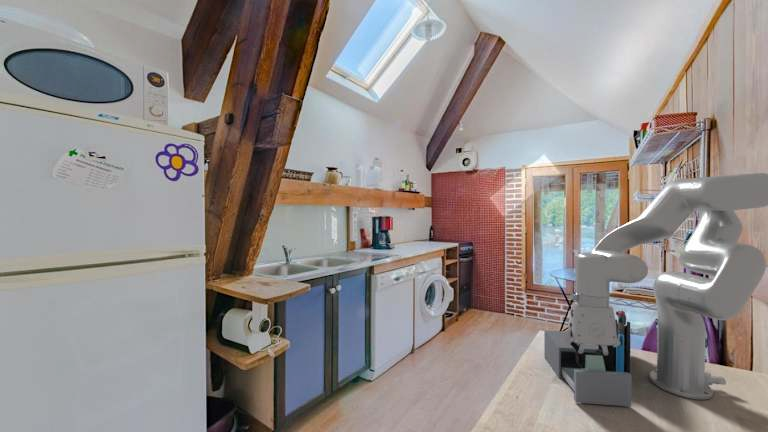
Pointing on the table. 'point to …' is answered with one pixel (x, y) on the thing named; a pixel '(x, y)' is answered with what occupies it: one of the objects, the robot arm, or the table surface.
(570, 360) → the grey box
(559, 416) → the table surface
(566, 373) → the drawer
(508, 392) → the table surface
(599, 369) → the block
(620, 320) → the game console
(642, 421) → the table surface
